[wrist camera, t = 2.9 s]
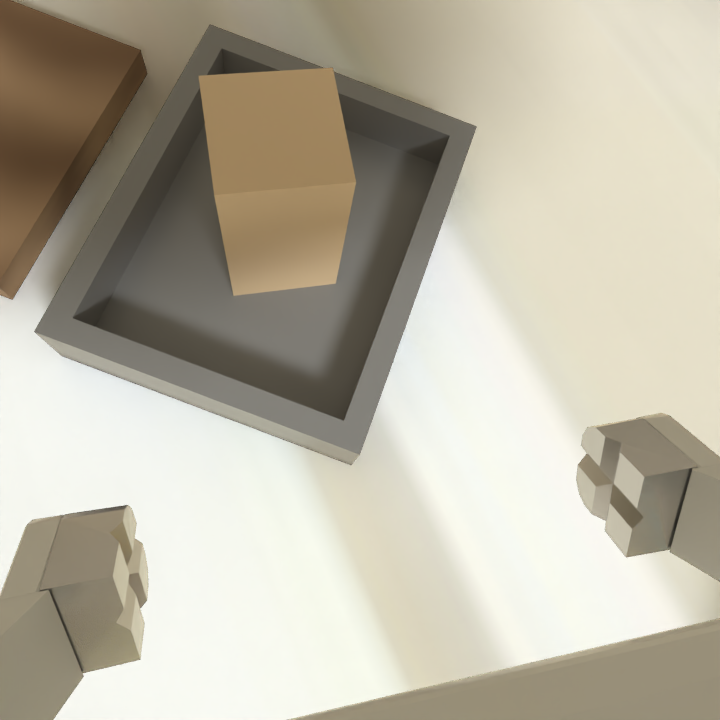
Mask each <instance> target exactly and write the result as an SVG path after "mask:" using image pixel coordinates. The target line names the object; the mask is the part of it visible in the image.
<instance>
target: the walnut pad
mask: <svg viewBox="0 0 720 720" xmlns="http://www.w3.org/2000/svg"><path fill="white" fill-rule="evenodd" d="M146 75H147V71H146V67H145V64H144V60H143V57H142V53H141V50H139V49H136V48H134V47H131V46H129V45H126V44H123V43H121V42H118V41H115V40H113V39H110V38H108V37H105V36H102V35H100V34H97V33H95V32H92V31H89V30H87V29H84V28H82V27H79V26H76V25H74V24H71V23H68V22H66V21H63V20H61V19H58V18H55V17H53V16H50V15H48V14H45V13H42V12H40V11H37V10H34V9H32V8H29V7H27V6H24V5H21V4H19V3H16V2H14V1H11V0H0V295H1V296H4V297H7V298H9V299H12V300H13V298H14V296H15V294H16V293H17V291H18V289H19V288H20V286H21V284H22V283H23V281H24V279H25V278H26V276H27V274H28V273H29V271H30V269H31V268H32V266H33V264H34V263H35V261H36V259H37V258H38V256H39V254H40V253H41V251H42V249H43V247H44V246H45V244H46V242H47V241H48V239H49V237H50V236H51V234H52V232H53V231H54V229H55V227H56V226H57V224H58V222H59V221H60V219H61V217H62V216H63V214H64V212H65V211H66V209H67V207H68V206H69V204H70V202H71V201H72V199H73V197H74V195H75V194H76V192H77V190H78V189H79V187H80V185H81V184H82V182H83V180H84V179H85V177H86V175H87V174H88V172H89V170H90V169H91V167H92V165H93V164H94V162H95V160H96V159H97V157H98V155H99V154H100V152H101V150H102V148H103V147H104V145H105V143H106V142H107V140H108V138H109V137H110V135H111V133H112V132H113V130H114V128H115V127H116V125H117V123H118V122H119V120H120V118H121V117H122V115H123V113H124V112H125V110H126V108H127V107H128V105H129V103H130V101H131V100H132V98H133V96H134V95H135V93H136V91H137V90H138V88H139V86H140V85H141V83H142V81H143V80H144V78H145V76H146Z"/></svg>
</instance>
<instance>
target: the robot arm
mask: <svg viewBox="0 0 720 720" xmlns="http://www.w3.org/2000/svg"><path fill="white" fill-rule="evenodd" d="M581 446H582V448H583V449H584V450H585V452H586V453H587V454H586V455H585V457H584V458H583V459H582V460H581V462H580V463H579V464H578V468H577V476H576V481H577V486H578V491H579V495H580V497H581V499H582V501H583V503H584V505H585V506H586V507H587V509H588V510H589V511H590V513H591V514H593V515H595V516H597V517H599V518H601V519H603V520H605V521H606V524H605V532H606V533H607V534H608V536H609V537H610V538H611V539H612V541H613V542H614V543H615V544H616V546H617V547H618V548H619V549H620V551H621V552H622V553H623V554H624V556H625V557H631V556H637V555H642V554H648V553H653V552H659V551H665V550H670V552H671V553H672V554H674V555H676V556H678V557H679V558H681V559H683V560H684V561H686V562H688V563H689V564H691V565H693V566H694V567H696V568H698V569H699V570H701V571H703V572H704V573H706V574H708V575H709V576H711V577H713V578H714V579H716V580H718V581H720V457H719V456H718V455H716V454H715V453H714V452H713V451H712V450H710V449H709V448H708V447H707V446H706V445H704V444H703V443H702V442H701V441H700V440H698V439H697V438H696V437H695V436H694V435H692V434H691V433H690V432H689V431H688V430H686V429H685V428H684V427H683V426H682V425H680V424H679V423H678V422H677V421H676V420H674V419H673V418H672V417H671V416H669V415H666V414H663V413H658V414H653V415H648V416H643V417H638V418H636V419H631V420H625V421H620V422H614V423H608V424H603V425H597V426H591V427H587V428H586V430H585V432H584V433H583V436H582V442H581ZM136 524H137V523H136V520H135V517H134V514H133V511H132V508H131V507H130V506H128V505H125V506H118V507H111V508H104V509H98V510H91V511H84V512H77V513H71V514H65V515H60V516H53V517H47V518H40V519H34V520H32V521H31V522H29V523H28V524H27V526H26V527H25V530H24V532H23V535H22V538H21V540H20V543H19V546H18V548H17V551H16V554H15V556H14V559H13V562H12V564H11V567H10V570H9V572H8V575H7V578H6V580H5V583H4V586H3V588H2V591H1V594H0V720H53V719H54V718H55V716H56V715H57V714H58V712H59V711H60V709H61V708H62V706H63V705H64V704H65V702H66V701H67V699H68V698H69V696H70V695H71V694H72V692H73V691H74V689H75V688H76V687H77V685H78V684H79V682H80V681H81V679H82V678H83V677H84V676H83V673H86V672H90V671H94V670H98V669H103V668H107V667H111V666H115V665H119V664H124V663H128V662H132V661H136V660H140V659H141V650H142V641H143V633H144V624H145V623H144V620H143V617H142V613H141V610H140V608H141V607H142V606H143V605H144V604H145V602H146V601H147V596H148V567H147V561H146V555H145V551H144V547H143V544H142V543H141V542H139V541H138V540H136V539H135V531H136ZM288 720H720V618H719V619H715V620H710V621H706V622H702V623H698V624H693V625H689V626H685V627H681V628H676V629H672V630H668V631H663V632H659V633H655V634H651V635H646V636H642V637H638V638H634V639H629V640H625V641H621V642H617V643H612V644H608V645H604V646H599V647H595V648H591V649H587V650H582V651H578V652H574V653H570V654H565V655H561V656H557V657H553V658H548V659H544V660H540V661H536V662H531V663H527V664H523V665H518V666H514V667H510V668H506V669H501V670H497V671H493V672H489V673H484V674H480V675H476V676H472V677H467V678H463V679H459V680H455V681H450V682H446V683H442V684H438V685H433V686H429V687H425V688H420V689H416V690H412V691H408V692H403V693H399V694H395V695H391V696H386V697H382V698H378V699H374V700H369V701H365V702H361V703H357V704H352V705H348V706H344V707H339V708H335V709H331V710H327V711H322V712H318V713H314V714H310V715H305V716H301V717H297V718H293V719H288Z"/></svg>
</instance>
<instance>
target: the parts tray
mask: <svg viewBox="0 0 720 720" xmlns="http://www.w3.org/2000/svg"><path fill="white" fill-rule="evenodd" d="M318 68H323V67H320V66H317V65H315V64H312V63H310V62H307V61H304V60H302V59H299V58H296V57H294V56H291V55H289V54H286V53H283V52H281V51H278V50H276V49H273V48H270V47H268V46H265V45H263V44H260V43H257V42H255V41H252V40H250V39H247V38H244V37H242V36H239V35H236V34H234V33H231V32H229V31H226V30H223V29H221V28H218V27H216V26H213V25H209V27H208V29H207V30H206V32H205V34H204V36H203V37H202V39H201V41H200V43H199V44H198V46H197V48H196V50H195V51H194V53H193V55H192V57H191V58H190V60H189V62H188V64H187V65H186V67H185V69H184V71H183V72H182V74H181V76H180V78H179V79H178V81H177V83H176V85H175V86H174V88H173V90H172V92H171V93H170V95H169V97H168V99H167V100H166V102H165V104H164V106H163V107H162V109H161V111H160V113H159V114H158V116H157V118H156V120H155V121H154V123H153V125H152V127H151V128H150V130H149V132H148V134H147V135H146V137H145V139H144V141H143V142H142V144H141V146H140V148H139V149H138V151H137V153H136V155H135V156H134V158H133V160H132V161H131V163H130V165H129V167H128V168H127V170H126V172H125V174H124V175H123V177H122V179H121V181H120V182H119V184H118V186H117V188H116V189H115V191H114V193H113V195H112V196H111V198H110V200H109V202H108V203H107V205H106V207H105V209H104V210H103V212H102V214H101V216H100V217H99V219H98V221H97V223H96V224H95V226H94V228H93V230H92V231H91V233H90V235H89V237H88V238H87V240H86V242H85V244H84V245H83V247H82V249H81V251H80V252H79V254H78V256H77V258H76V259H75V261H74V263H73V265H72V266H71V268H70V270H69V272H68V273H67V275H66V277H65V279H64V280H63V282H62V284H61V286H60V287H59V289H58V291H57V293H56V294H55V296H54V298H53V300H52V301H51V303H50V305H49V307H48V308H47V310H46V312H45V314H44V315H43V317H42V319H41V321H40V322H39V324H38V326H37V328H36V329H35V331H34V332H35V333H36V334H37V335H38V336H39V337H41V338H42V339H43V340H44V341H45V342H46V343H47V344H49V345H50V346H51V347H52V348H53V349H54V350H55V351H57V352H58V353H59V354H60V355H61V356H63V357H66V358H69V359H71V360H74V361H77V362H79V363H82V364H85V365H87V366H90V367H93V368H95V369H98V370H101V371H103V372H106V373H108V374H111V375H114V376H116V377H119V378H122V379H124V380H127V381H130V382H132V383H135V384H138V385H140V386H143V387H146V388H148V389H151V390H154V391H156V392H159V393H161V394H164V395H167V396H169V397H172V398H175V399H177V400H180V401H183V402H185V403H188V404H191V405H193V406H196V407H199V408H201V409H204V410H207V411H209V412H212V413H215V414H217V415H220V416H222V417H225V418H228V419H230V420H233V421H236V422H238V423H241V424H244V425H246V426H249V427H252V428H254V429H257V430H260V431H262V432H265V433H268V434H270V435H273V436H275V437H278V438H281V439H283V440H286V441H289V442H291V443H294V444H297V445H299V446H302V447H305V448H307V449H310V450H313V451H315V452H318V453H321V454H323V455H326V456H328V457H331V458H334V459H336V460H339V461H342V462H344V463H347V464H350V465H352V464H353V462H354V461H355V460H356V459H357V457H358V456H359V455H360V453H361V450H362V447H363V444H364V441H365V439H366V436H367V433H368V430H369V427H370V425H371V422H372V419H373V416H374V413H375V411H376V408H377V405H378V402H379V399H380V397H381V394H382V391H383V388H384V385H385V383H386V380H387V377H388V374H389V371H390V368H391V366H392V363H393V360H394V357H395V354H396V352H397V349H398V346H399V343H400V340H401V338H402V335H403V332H404V329H405V326H406V324H407V321H408V318H409V315H410V312H411V310H412V307H413V304H414V301H415V298H416V295H417V293H418V290H419V287H420V284H421V281H422V279H423V276H424V273H425V270H426V267H427V265H428V262H429V259H430V256H431V253H432V251H433V248H434V245H435V242H436V239H437V237H438V234H439V231H440V228H441V225H442V223H443V220H444V217H445V214H446V211H447V208H448V206H449V203H450V200H451V197H452V194H453V192H454V189H455V186H456V183H457V180H458V178H459V175H460V172H461V169H462V166H463V164H464V161H465V158H466V155H467V152H468V150H469V147H470V144H471V141H472V138H473V136H474V133H475V130H476V127H477V126H474V125H471V124H469V123H466V122H463V121H461V120H458V119H456V118H453V117H450V116H448V115H445V114H443V113H440V112H437V111H435V110H432V109H430V108H427V107H424V106H422V105H419V104H416V103H414V102H411V101H409V100H406V99H403V98H401V97H398V96H396V95H393V94H390V93H388V92H385V91H383V90H380V89H377V88H375V87H372V86H370V85H367V84H364V83H362V82H359V81H356V80H354V79H351V78H349V77H346V76H343V75H341V74H338V73H336V72H334V76H335V81H336V86H337V91H338V95H339V100H340V105H341V110H342V115H343V120H344V125H345V130H346V135H347V140H348V145H349V150H350V154H351V159H352V164H353V169H354V174H355V179H356V185H355V190H354V195H353V200H352V205H351V210H350V215H349V220H348V225H347V230H346V235H345V240H344V245H343V250H342V255H341V260H340V265H339V270H338V275H337V280H336V284H329V285H321V286H312V287H304V288H295V289H287V290H279V291H270V292H262V293H253V294H245V295H237V296H233V290H232V285H231V280H230V275H229V270H228V264H227V259H226V254H225V249H224V243H223V238H222V233H221V228H220V223H219V217H218V212H217V207H216V202H215V197H214V190H213V182H212V174H211V167H210V159H209V152H208V144H207V136H206V129H205V121H204V114H203V106H202V98H201V91H200V83H199V76H202V75H218V74H235V73H252V72H268V71H285V70H302V69H318Z"/></svg>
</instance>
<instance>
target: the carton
mask: <svg viewBox="0 0 720 720" xmlns="http://www.w3.org/2000/svg"><path fill="white" fill-rule="evenodd" d="M199 83H200V91H201V98H202V106H203V114H204V121H205V129H206V136H207V144H208V152H209V159H210V167H211V174H212V182H213V190H214V197H215V202H216V207H217V212H218V217H219V223H220V228H221V233H222V238H223V243H224V249H225V254H226V259H227V264H228V270H229V275H230V280H231V285H232V290H233V296H237V295H245V294H253V293H262V292H270V291H279V290H287V289H295V288H304V287H312V286H321V285H329V284H336V280H337V275H338V270H339V265H340V260H341V255H342V250H343V245H344V240H345V235H346V230H347V225H348V220H349V215H350V210H351V205H352V200H353V195H354V190H355V185H356V179H355V174H354V169H353V164H352V159H351V154H350V150H349V145H348V140H347V135H346V130H345V125H344V120H343V115H342V110H341V105H340V100H339V95H338V91H337V86H336V81H335V76H334V71H333V68H318V69H302V70H285V71H268V72H252V73H235V74H218V75H202V76H199Z"/></svg>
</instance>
